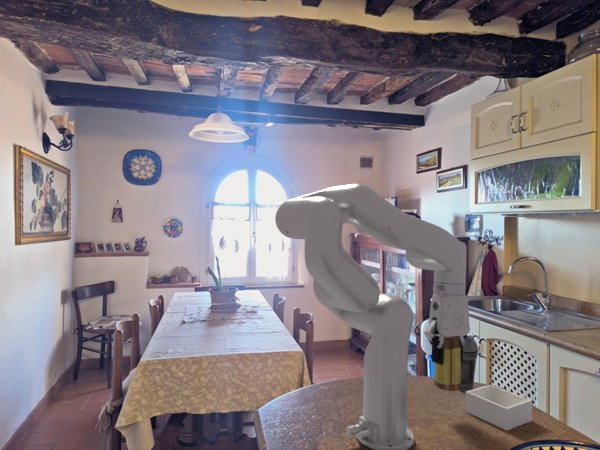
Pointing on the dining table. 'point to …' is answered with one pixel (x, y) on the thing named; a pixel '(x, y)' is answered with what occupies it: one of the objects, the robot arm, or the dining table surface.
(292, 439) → the dining table surface
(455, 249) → the robot arm
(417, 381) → the dining table surface
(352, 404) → the dining table surface
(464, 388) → the beverage cup
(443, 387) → the sauce bottle
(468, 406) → the box
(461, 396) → the dining table surface
